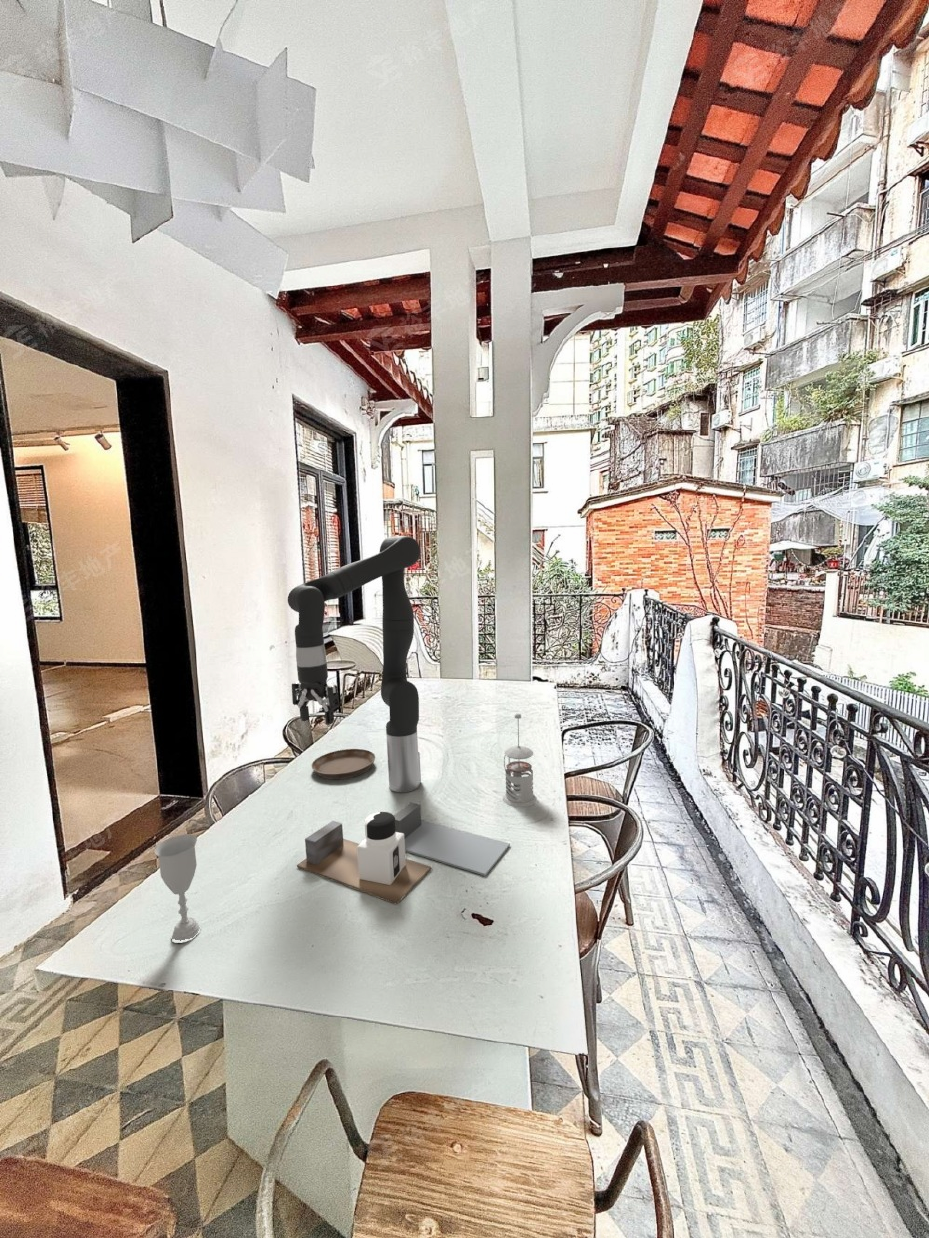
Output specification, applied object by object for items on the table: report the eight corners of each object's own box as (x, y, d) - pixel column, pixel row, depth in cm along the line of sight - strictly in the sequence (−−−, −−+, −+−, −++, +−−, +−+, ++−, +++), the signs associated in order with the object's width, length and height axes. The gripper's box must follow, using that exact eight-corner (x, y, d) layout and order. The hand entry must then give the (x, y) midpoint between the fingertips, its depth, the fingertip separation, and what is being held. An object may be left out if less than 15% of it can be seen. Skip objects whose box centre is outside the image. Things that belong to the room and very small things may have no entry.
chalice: (176, 921, 100) (166, 835, 98) (212, 918, 101) (203, 832, 99) (157, 950, 93) (146, 858, 91) (196, 946, 94) (186, 855, 91)
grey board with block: (413, 819, 136) (412, 797, 135) (509, 845, 122) (509, 821, 122) (382, 844, 125) (381, 821, 124) (485, 875, 111) (484, 850, 110)
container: (406, 864, 115) (403, 810, 114) (390, 886, 108) (387, 828, 106) (375, 859, 118) (372, 805, 116) (358, 879, 111) (354, 823, 109)
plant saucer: (298, 778, 165) (297, 768, 165) (337, 754, 184) (336, 745, 184) (352, 787, 157) (352, 776, 157) (387, 761, 176) (386, 752, 176)
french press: (514, 810, 139) (512, 721, 136) (492, 793, 150) (490, 710, 146) (544, 801, 144) (542, 715, 141) (521, 785, 154) (519, 704, 151)
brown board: (337, 838, 128) (335, 815, 127) (431, 868, 114) (430, 843, 114) (297, 866, 117) (295, 842, 116) (396, 904, 103) (394, 876, 102)
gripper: (342, 660, 134) (347, 720, 136) (302, 657, 140) (307, 715, 142) (322, 667, 127) (328, 730, 129) (281, 664, 134) (287, 723, 136)
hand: (317, 722), depth 136 cm, fingers open, 8 cm apart
